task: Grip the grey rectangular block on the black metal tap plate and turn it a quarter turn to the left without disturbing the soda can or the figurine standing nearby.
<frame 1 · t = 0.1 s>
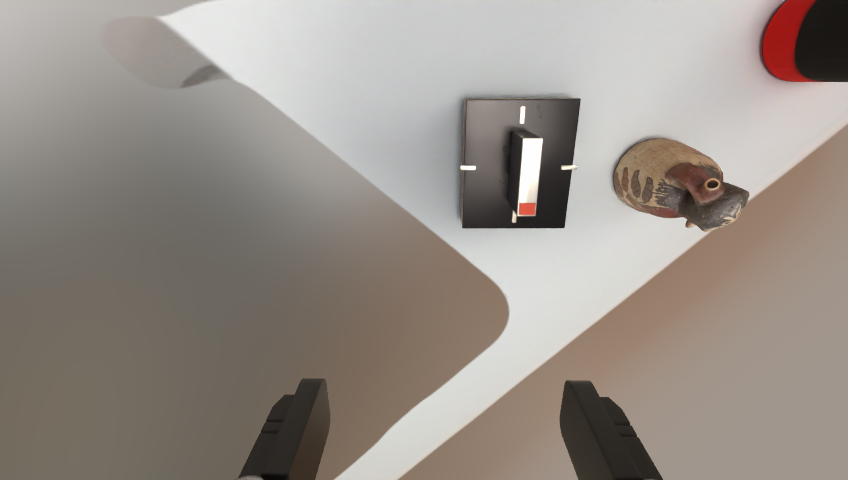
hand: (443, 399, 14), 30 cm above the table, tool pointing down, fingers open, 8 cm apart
grey rectangular block: (523, 173, 35), point 5 cm above the table, hinge at 0.0°
tap plate: (511, 161, 40), on the table
figurine: (647, 173, 41), on the table
soda can: (802, 36, 36), on the table
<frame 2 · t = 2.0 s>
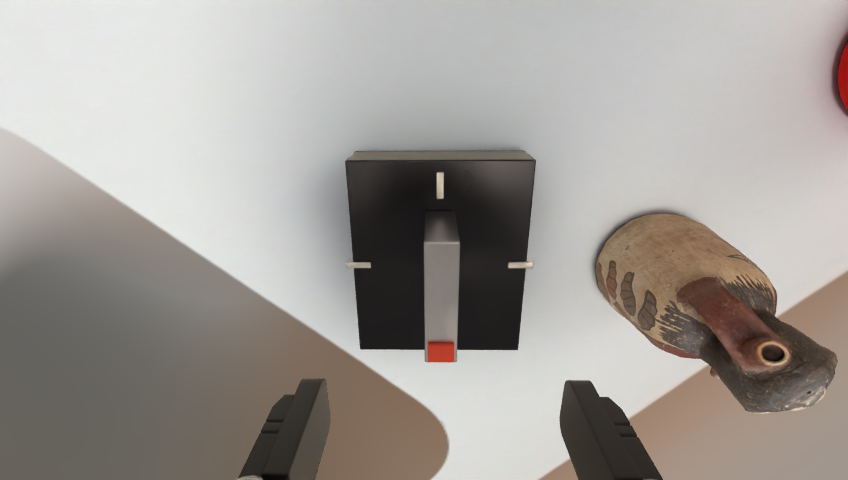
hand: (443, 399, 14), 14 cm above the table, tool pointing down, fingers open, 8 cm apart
grey rectangular block: (440, 284, 21), point 5 cm above the table, hinge at 0.0°
tap plate: (438, 244, 26), on the table
figurine: (647, 261, 27), on the table
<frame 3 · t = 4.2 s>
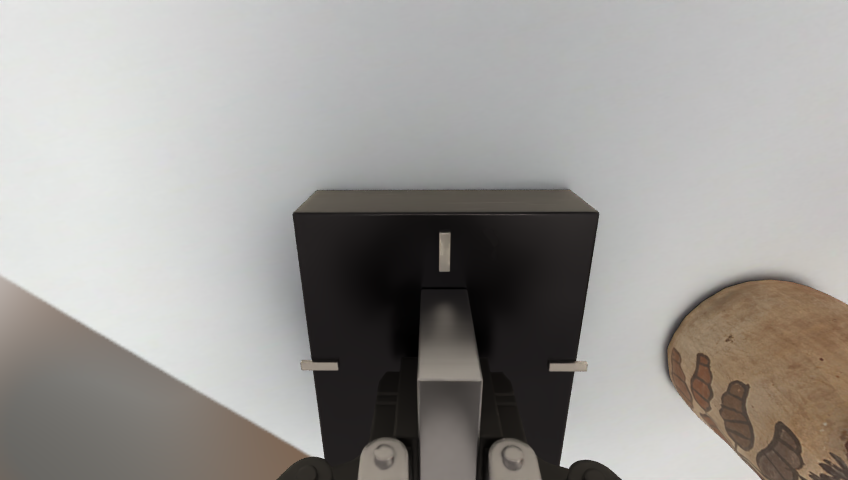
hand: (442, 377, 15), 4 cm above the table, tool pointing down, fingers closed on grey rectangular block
grey rectangular block: (445, 414, 13), point 5 cm above the table, hinge at 0.0°, touching gripper
tap plate: (441, 320, 18), on the table
figurine: (741, 342, 18), on the table
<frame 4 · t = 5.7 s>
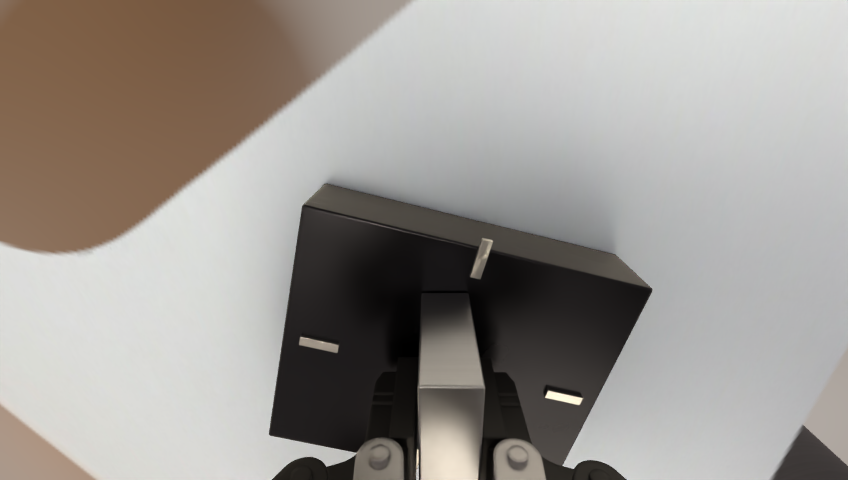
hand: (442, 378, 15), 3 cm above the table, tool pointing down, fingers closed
grey rectangular block: (446, 421, 13), point 5 cm above the table, hinge at 104.5°
tap plate: (442, 324, 18), on the table
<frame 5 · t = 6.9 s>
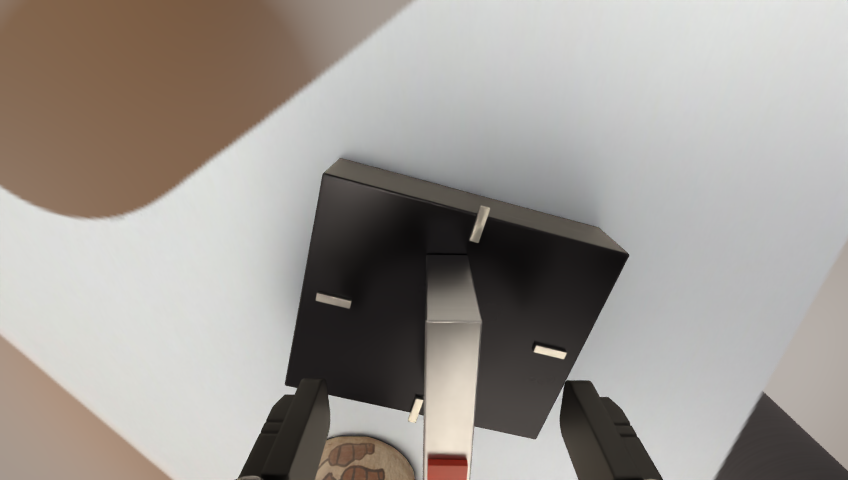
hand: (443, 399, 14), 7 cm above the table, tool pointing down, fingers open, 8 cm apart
grey rectangular block: (446, 364, 15), point 5 cm above the table, hinge at 104.5°
tap plate: (442, 290, 20), on the table
figurine: (359, 474, 25), on the table
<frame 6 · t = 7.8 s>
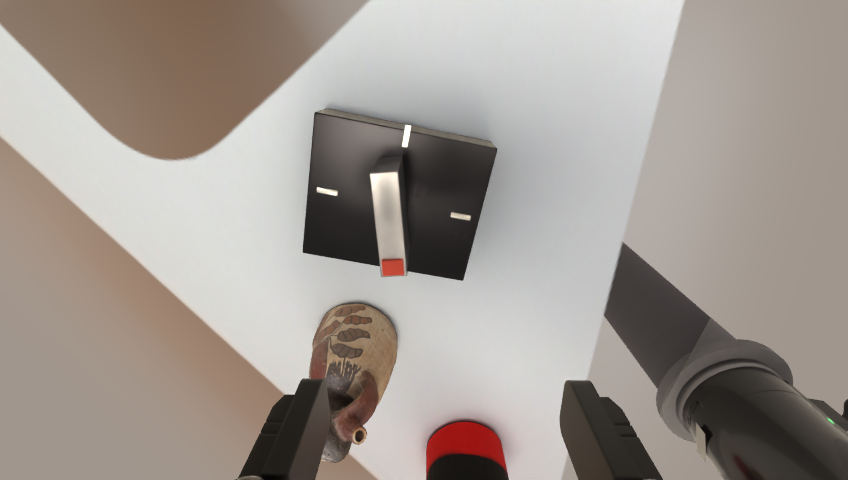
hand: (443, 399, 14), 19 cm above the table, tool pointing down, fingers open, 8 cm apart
grey rectangular block: (392, 215, 26), point 5 cm above the table, hinge at 104.5°
tap plate: (397, 191, 31), on the table
figurine: (358, 335, 36), on the table
soda can: (463, 445, 41), on the table
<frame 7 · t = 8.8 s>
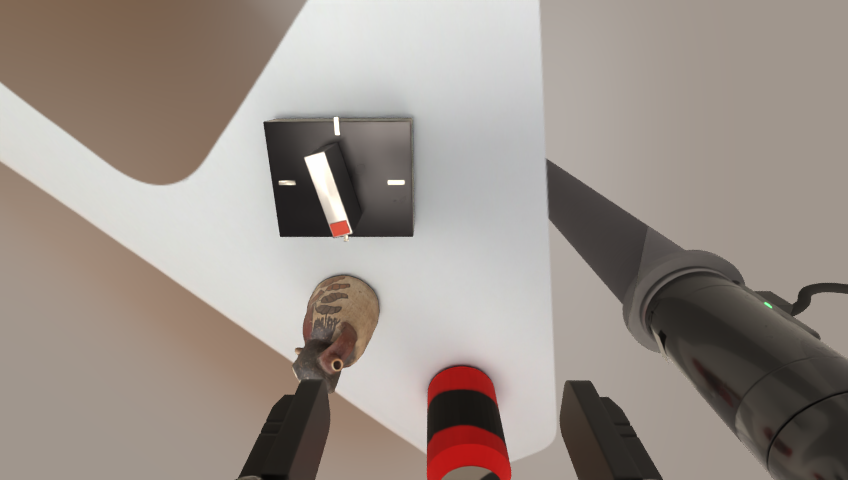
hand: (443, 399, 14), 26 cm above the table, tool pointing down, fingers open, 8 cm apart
grey rectangular block: (335, 189, 32), point 5 cm above the table, hinge at 104.5°
tap plate: (348, 174, 37), on the table
figurine: (346, 303, 42), on the table
soda can: (460, 389, 46), on the table
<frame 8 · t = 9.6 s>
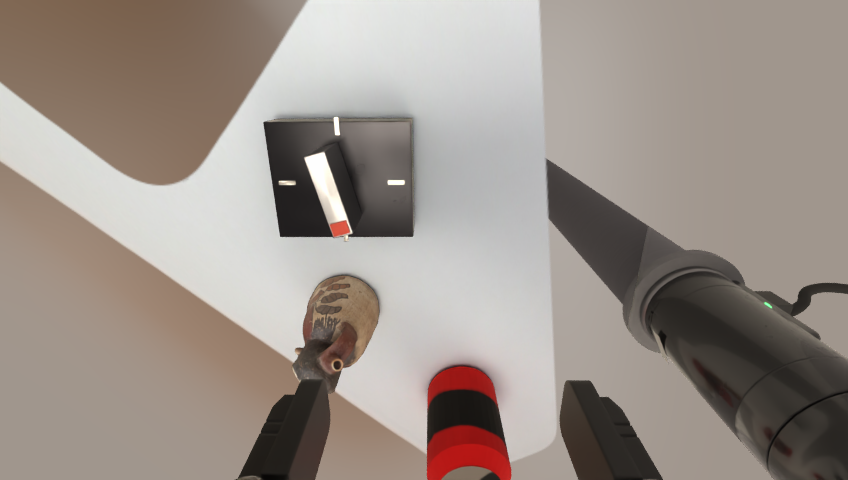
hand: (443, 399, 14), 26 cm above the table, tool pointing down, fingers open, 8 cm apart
grey rectangular block: (335, 189, 32), point 5 cm above the table, hinge at 104.5°
tap plate: (348, 174, 37), on the table
figurine: (346, 303, 42), on the table
soda can: (460, 389, 46), on the table
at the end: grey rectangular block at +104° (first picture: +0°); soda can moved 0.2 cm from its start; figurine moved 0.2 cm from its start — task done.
